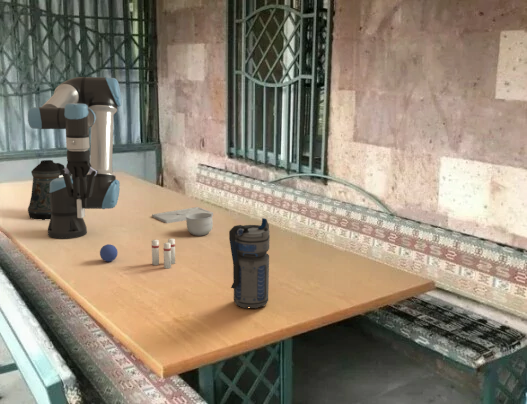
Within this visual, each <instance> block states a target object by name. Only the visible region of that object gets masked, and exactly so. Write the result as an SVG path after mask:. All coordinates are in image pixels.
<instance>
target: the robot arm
mask: <svg viewBox="0 0 527 404" xmlns="http://www.w3.org/2000/svg"><path fill="white" fill-rule="evenodd" d="M121 106H122V93H121V87H120V84H119V81H118V80H117V79H116V78H115V77H107V76H103V77H100V76H98V77H97V76H96V77H95V76H94V77H93V76H78V77H73V78H70V79H68V80H65V81H63V82H62V83H60V84H59V85H57V86H56V88H55V89H54V92H53V95H52V96H51V97H50V98H49V99H48V100H47V101H45V103H43V105H41V106H35V107H30V108H29V109H28V111H27V122H28V126H29V127H30V128H32V129H36V130H37V129H38V130H65V141H66V142H65V143H66V149H67V151H66V161H67V164H66V167H65V168H64V169H62V170H60V172H61V174H62V175H61V177H60V176H59V178H56V179H54V180H52V181H51V182H50V191H49V193H50V203H51V219H50V220H49V224H48V226H47V236H48V237H49V238H52V239H74V238H79V237H83V236H84V235H87V233H88V229H87V225H86V222H85V220H84V218H85V217H86V211H85V210H87V209H88V210H94V209H95V210H97V209H99V210H101V209H102V210H107V209H110V210H111V209H114V208H115V207H116V206H117V204H118V200H119V197H120V186H121V185H120V180H118V179H117V177H116V174H115V173H113V148H114V147H113V144H114V143H113V141H114V139H113V138H114V115H115V114H116V113H117V112H118V108H120V107H121ZM90 128H91V129H90ZM89 130H90V131H89ZM69 172H70V173H71V175H72V176H70V175H69Z"/></svg>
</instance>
